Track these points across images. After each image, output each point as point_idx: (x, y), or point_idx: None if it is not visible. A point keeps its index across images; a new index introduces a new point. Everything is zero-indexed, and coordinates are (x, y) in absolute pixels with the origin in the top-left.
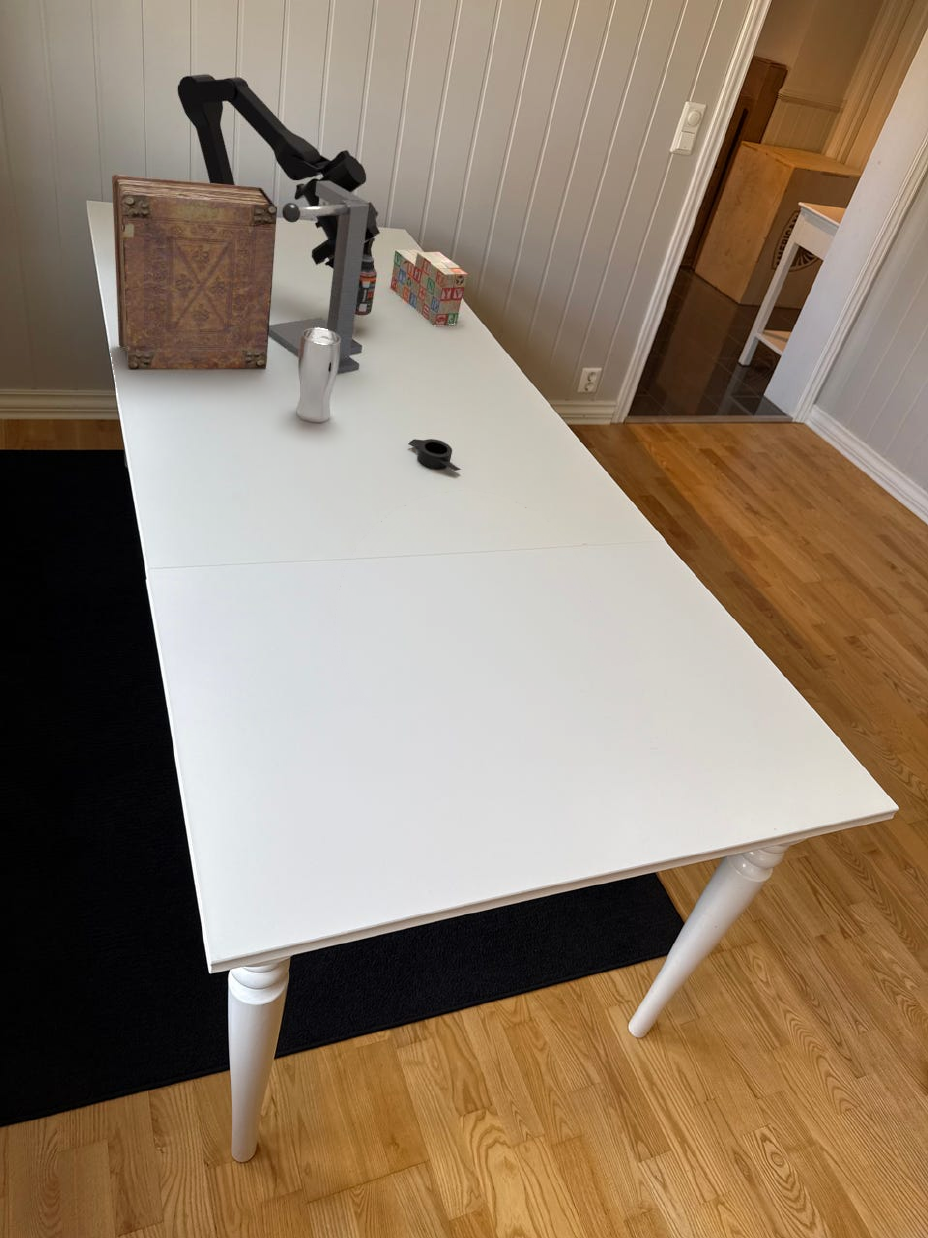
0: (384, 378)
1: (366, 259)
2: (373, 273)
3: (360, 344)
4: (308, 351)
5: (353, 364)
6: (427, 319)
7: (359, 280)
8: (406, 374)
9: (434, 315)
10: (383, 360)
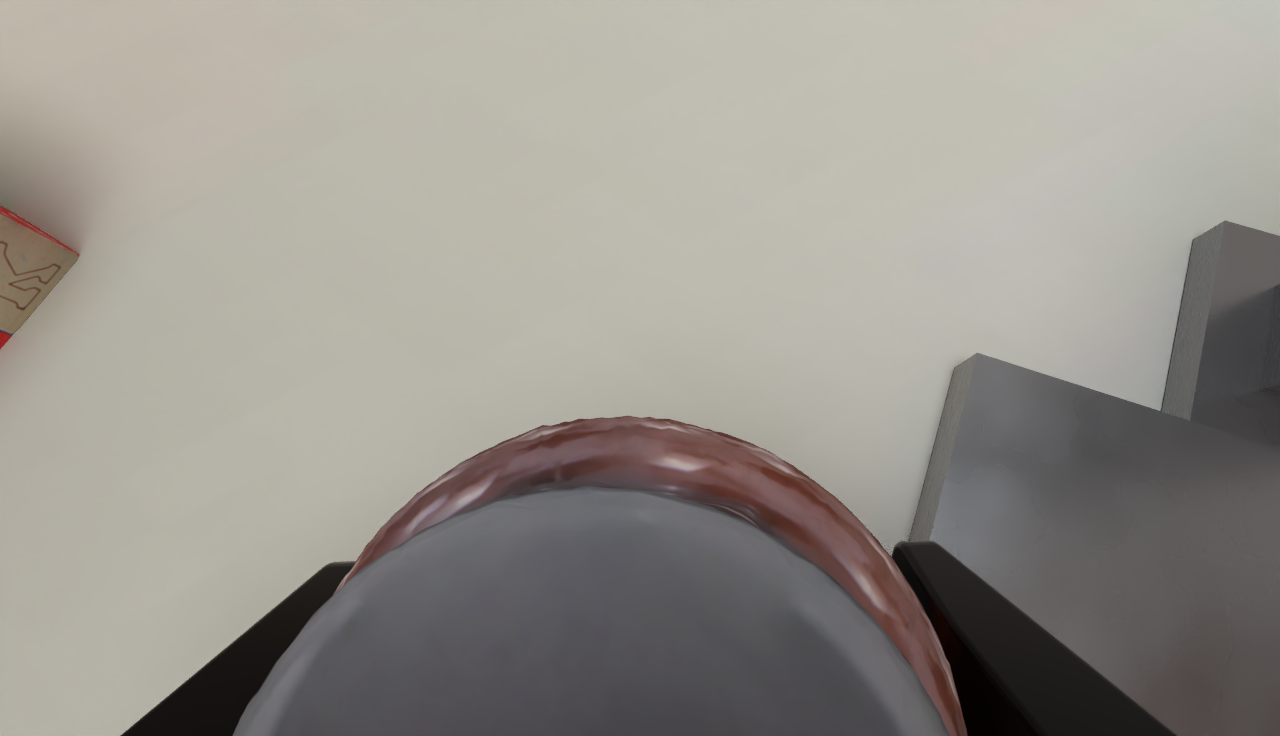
0: (1129, 75)
1: (731, 709)
2: (644, 436)
3: (972, 373)
4: None
5: (1276, 241)
6: (5, 341)
7: (978, 579)
8: (950, 20)
9: (2, 244)
10: (915, 205)
